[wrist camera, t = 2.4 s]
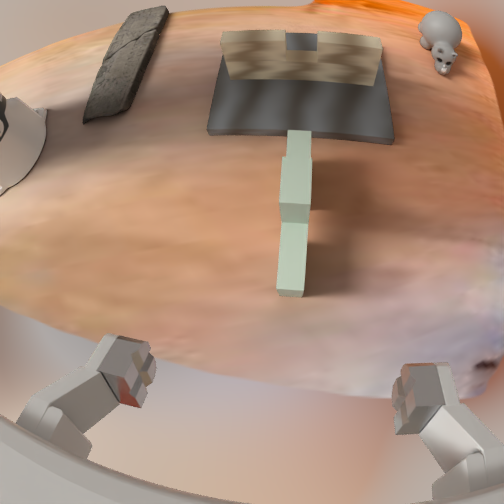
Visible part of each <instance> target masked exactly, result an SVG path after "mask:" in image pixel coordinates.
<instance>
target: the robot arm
mask: <svg viewBox="0 0 504 504" xmlns="http://www.w3.org/2000/svg"><path fill="white" fill-rule="evenodd" d="M46 116H47V110H46V109H44V108H36V109H32V108H30V107H29V106H28V105H27V104H25V103H24V102H23V101H21V100H20V99H19V98H17V97H15V98H10V99H6V98H5V97H4V96H3V95H2V94H1V93H0V195H1V194H2V193H3V192H4V191H5V190H6V189H7V188H9V187H11V186H13V185H15V184H16V183H18V182H19V181H20V180H21V179H23V178H24V177H25V175H26V174H27V173H28V172H29V171H30V169H31V168H32V167H33V165H34V164H35V162H36V160H37V159H38V157H39V155H40V153H41V150H42V148H43V145H44V142H45V137H46V126H45V120H46ZM150 349H151V347H150V345H149V343H148V342H147V341H142V340H137V339H133V338H128V337H124V336H120V335H115V334H111V333H107V334H106V335H104V336H103V338H102V340H101V341H100V343H99V344H98V346H97V348H96V349H95V351H94V352H93V354H92V356H91V358H90V359H89V361H88V362H87V364H86V366H85V367H79V368H78V369H76V370H74V371H73V372H71V373H69V374H68V375H66V376H64V377H63V378H61V379H59V380H57V381H56V382H54V383H53V384H51V385H49V386H47V387H46V388H44V389H42V390H40V391H39V392H37V393H35V394H34V395H32V397H31V398H30V400H29V401H28V403H27V405H26V406H25V408H24V410H23V411H22V413H21V415H20V417H19V418H18V420H17V422H16V423H14V422H13V421H11V420H9V419H7V418H6V417H4V416H3V415H1V414H0V504H249V503H241V502H235V501H229V500H223V499H217V498H212V497H207V496H202V495H198V494H193V493H188V492H184V491H180V490H177V489H173V488H168V487H165V486H162V485H158V484H155V483H151V482H148V481H145V480H141V479H138V478H135V477H132V476H129V475H126V474H124V473H121V472H118V471H115V470H112V469H109V468H107V467H104V466H102V465H99V464H97V463H94V462H92V461H90V460H87V457H88V455H89V453H90V450H91V448H92V444H91V442H90V441H89V440H88V439H87V438H86V437H85V436H84V435H83V433H85V432H86V431H87V430H89V429H90V428H91V427H92V426H94V425H95V424H96V423H97V422H98V421H100V420H101V419H102V418H103V417H105V416H106V415H107V414H108V413H110V412H111V411H112V410H113V409H114V408H116V407H117V406H118V405H119V403H121V404H125V405H129V406H133V407H138V408H141V407H142V405H143V403H144V400H145V398H146V396H147V394H148V393H147V389H146V387H147V386H148V385H149V384H151V383H152V382H153V379H154V377H155V373H156V361H155V358H154V357H153V356H152V355H151V354H150V353H149V351H150ZM392 405H393V407H394V408H395V409H396V410H397V411H398V412H397V413H396V415H395V416H394V424H395V434H396V435H404V434H419V436H420V438H421V439H422V441H423V442H424V443H425V445H426V446H427V448H428V449H429V451H430V452H431V453H432V455H433V456H434V458H435V459H436V461H437V462H438V464H439V465H440V467H441V468H442V470H443V471H444V472H445V474H444V475H443V476H442V477H440V478H439V479H438V480H436V481H435V482H434V483H433V484H432V496H433V500H431V501H426V502H419V503H412V504H504V445H503V444H502V443H501V442H500V440H499V439H498V438H497V437H496V436H495V435H494V434H493V433H492V432H491V431H490V430H489V429H488V428H487V427H486V426H485V425H484V424H483V422H482V421H481V420H480V419H479V418H478V417H477V416H476V415H475V414H474V413H473V412H472V411H471V410H470V409H469V408H468V407H467V406H466V405H465V404H464V403H461V404H460V401H459V397H458V393H457V389H456V386H455V382H454V379H453V375H452V372H451V368H450V365H449V364H448V363H447V362H444V363H411V364H405V365H403V367H402V369H401V376H400V377H399V378H397V379H396V381H395V383H394V385H393V390H392Z"/></svg>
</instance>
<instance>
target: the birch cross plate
mask: <svg viewBox="0 0 504 504" xmlns="http://www.w3.org/2000/svg"><path fill="white" fill-rule="evenodd" d="M220 45H221V48H222V52H223V56H222V60H221V64H220V69H219V73H218V78H217V82H216V86H215V91H214V96H213V100H212V105H211V110H210V115H209V120H208V125H207V131H208V134H209V135H267V136H287V135H288V130H301V131H311V137H313V138H327V139H340V140H351V141H361V142H371V143H379V144H387V145H392V143H393V141H394V132H393V124H392V117H391V111H390V104H389V98H388V92H387V87H386V81H385V76H384V71H383V66H382V61H381V55H382V51H383V48H382V44H381V40H380V38H378V37H371V36H364V35H356V34H347V33H336V32H324V31H318V33H317V34H311V33H286V30H247V31H229V32H223V33H222V37H221V41H220Z"/></svg>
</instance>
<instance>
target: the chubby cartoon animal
mask: <svg viewBox="0 0 504 504" xmlns="http://www.w3.org/2000/svg"><path fill="white" fill-rule="evenodd" d="M418 30H419V31H420V32H421V33H422V34H423V36H422V37H421V39H420V44H421V46H422V47H423V48H425V49H427V50H429V49H432V51H431V54H432V57H433V59H434V60H435V69H436V71H437V72H438V73H440V74H442V75H445V74H448V73H449V72H450V69H451V66H452V64H453V63H454V61H455V60H456V57H457V56H458V54H457V53H455V51H454V48H456V47H457V46H458V45H459V44H460V42H461V39H462V31H461V27H460V25H459V23H458V22H457V21H456V19H455V18H454V17H452V16H451V15H449V14H448V13H446V12H442V11H432V12H429V13H428V14H426V15H425V16H424V17H423V19H422V22H420V23H419V25H418Z"/></svg>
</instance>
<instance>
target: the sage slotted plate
mask: <svg viewBox="0 0 504 504" xmlns="http://www.w3.org/2000/svg"><path fill="white" fill-rule="evenodd" d="M311 183H312V158H311V131H301V130H288V135H287V152H286V157H282V169H281V183H280V197H279V206H280V213H281V221H282V225H281V238H280V250H279V262H278V274H277V286H276V289H277V291H278V293H279V295H280V296H289V297H302V295H303V292H304V282H305V268H306V253H307V237H308V222H309V214H310V206H311Z"/></svg>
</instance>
